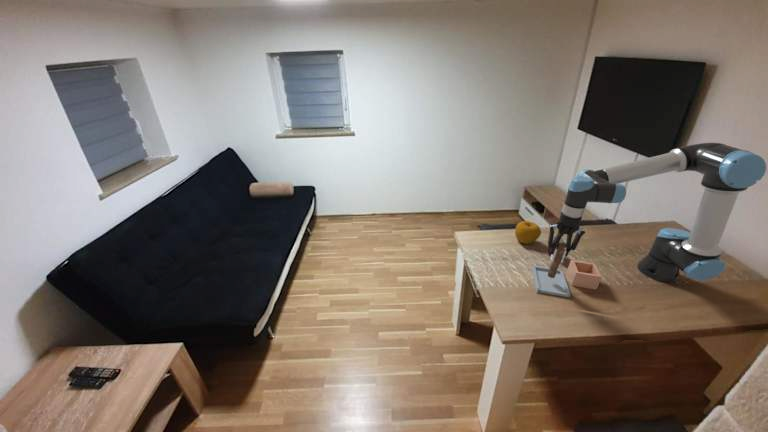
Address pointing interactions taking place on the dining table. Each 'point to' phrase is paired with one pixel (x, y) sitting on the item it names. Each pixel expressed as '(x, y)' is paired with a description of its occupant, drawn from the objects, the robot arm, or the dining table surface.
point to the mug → (552, 242)
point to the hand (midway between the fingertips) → (556, 260)
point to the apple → (527, 232)
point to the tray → (550, 282)
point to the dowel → (556, 259)
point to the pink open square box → (583, 274)
